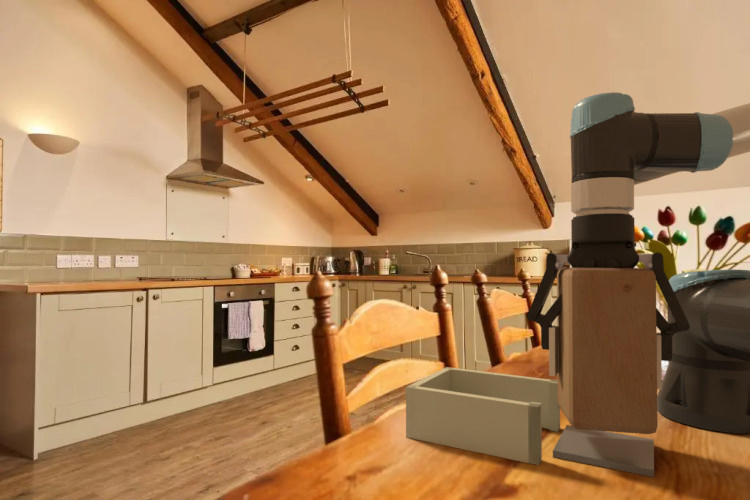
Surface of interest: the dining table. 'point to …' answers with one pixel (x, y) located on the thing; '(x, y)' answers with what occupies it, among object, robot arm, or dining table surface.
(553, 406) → the crate
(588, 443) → the trivet
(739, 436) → the dining table surface
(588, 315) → the wooden block
